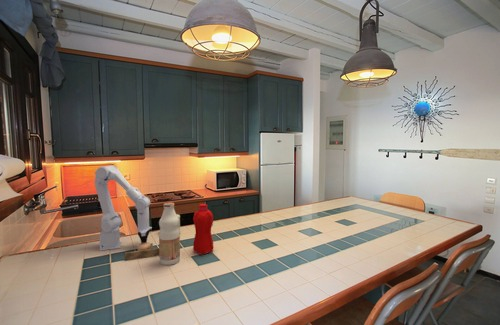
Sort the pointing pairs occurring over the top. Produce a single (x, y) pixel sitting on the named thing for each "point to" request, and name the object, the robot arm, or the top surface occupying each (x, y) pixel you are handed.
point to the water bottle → (203, 230)
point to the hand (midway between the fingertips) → (144, 244)
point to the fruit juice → (169, 236)
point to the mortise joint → (142, 253)
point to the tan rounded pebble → (143, 246)
